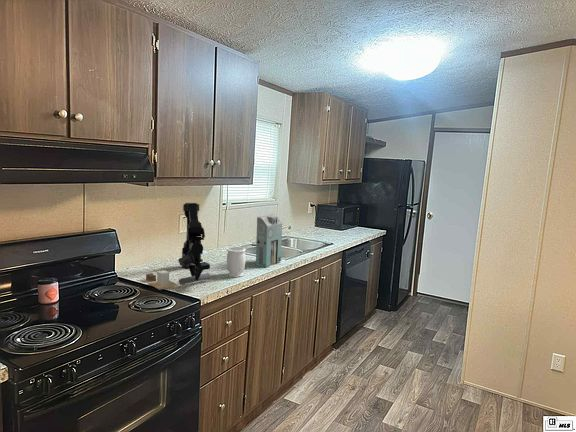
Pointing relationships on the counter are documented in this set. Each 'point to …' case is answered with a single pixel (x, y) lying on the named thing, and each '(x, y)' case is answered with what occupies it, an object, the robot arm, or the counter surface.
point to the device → (268, 240)
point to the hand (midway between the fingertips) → (195, 279)
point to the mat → (158, 286)
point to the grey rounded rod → (193, 279)
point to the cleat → (150, 277)
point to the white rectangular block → (163, 277)
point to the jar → (236, 261)
